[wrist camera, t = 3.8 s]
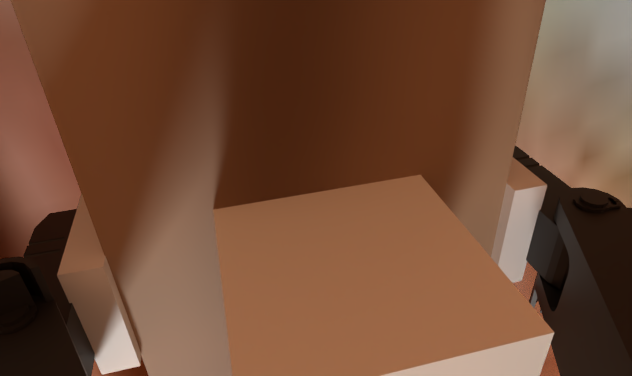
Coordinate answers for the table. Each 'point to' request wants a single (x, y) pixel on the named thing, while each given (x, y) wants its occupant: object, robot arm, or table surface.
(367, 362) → the block
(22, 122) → the table surface
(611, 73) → the table surface
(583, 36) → the table surface
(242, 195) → the pallet
